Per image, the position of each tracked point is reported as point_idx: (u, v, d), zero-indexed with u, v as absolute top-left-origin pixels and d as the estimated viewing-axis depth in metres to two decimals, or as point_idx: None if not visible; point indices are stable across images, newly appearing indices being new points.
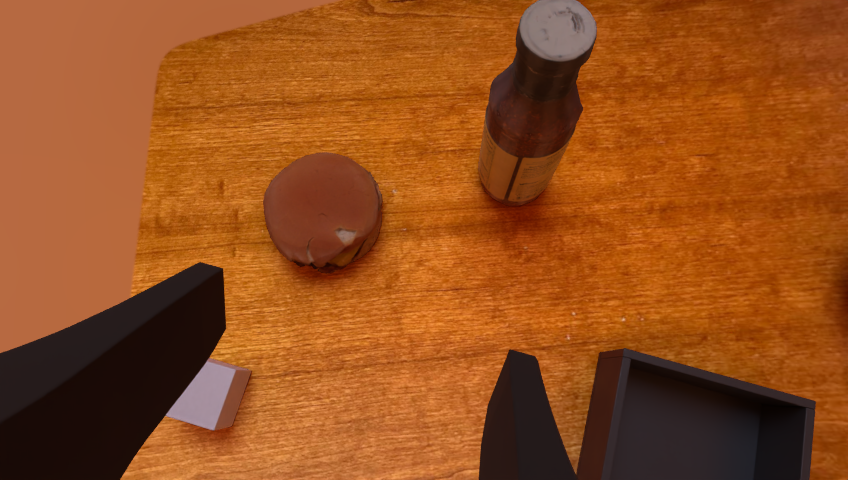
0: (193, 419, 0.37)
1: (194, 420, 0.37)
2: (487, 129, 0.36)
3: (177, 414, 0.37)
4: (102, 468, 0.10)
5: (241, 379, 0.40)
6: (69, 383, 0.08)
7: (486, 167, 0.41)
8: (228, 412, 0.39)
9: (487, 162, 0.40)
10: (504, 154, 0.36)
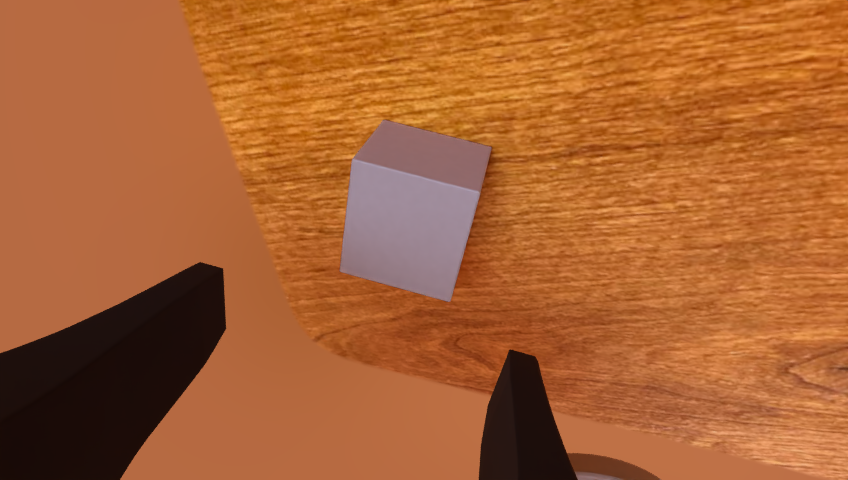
0: (404, 282, 0.18)
1: (406, 284, 0.18)
2: None
3: (369, 273, 0.18)
4: (102, 468, 0.10)
5: None
6: (69, 383, 0.08)
7: None
8: None
9: None
10: None
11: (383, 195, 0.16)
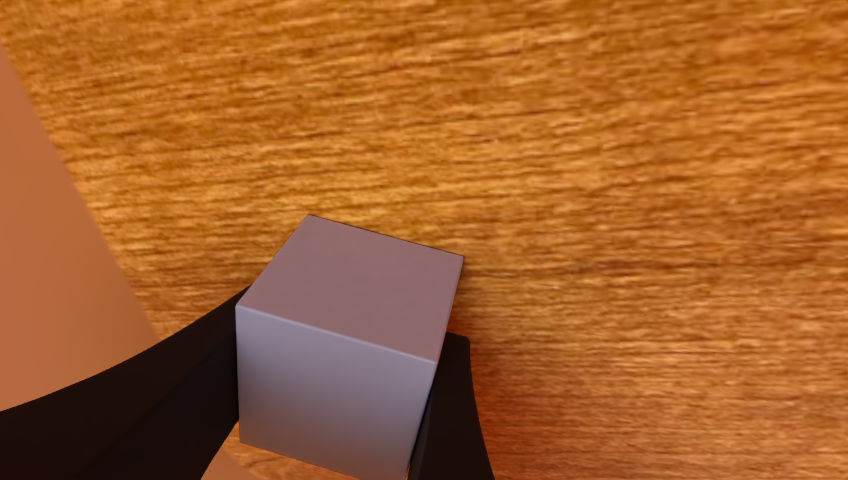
0: (332, 464, 0.12)
1: (336, 465, 0.12)
2: None
3: (281, 448, 0.12)
4: None
5: None
6: (157, 410, 0.08)
7: None
8: None
9: None
10: None
11: (289, 356, 0.10)
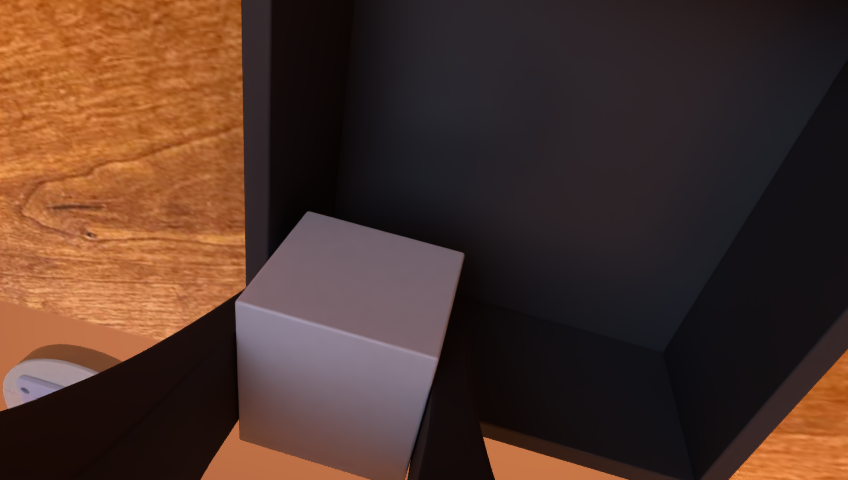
0: (332, 461, 0.12)
1: (336, 463, 0.12)
2: None
3: (281, 445, 0.12)
4: None
5: None
6: (157, 410, 0.08)
7: None
8: None
9: None
10: None
11: (289, 353, 0.10)
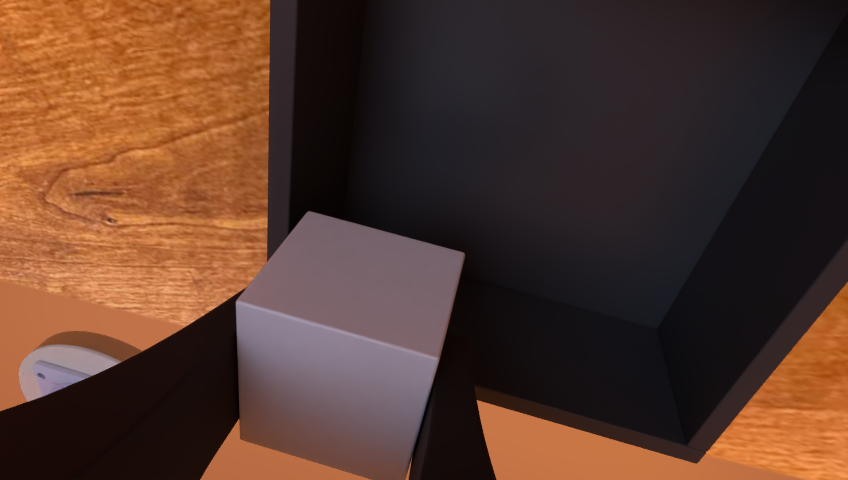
0: (333, 461, 0.12)
1: (337, 462, 0.12)
2: None
3: (282, 445, 0.12)
4: None
5: None
6: (156, 410, 0.08)
7: None
8: None
9: None
10: None
11: (290, 353, 0.10)
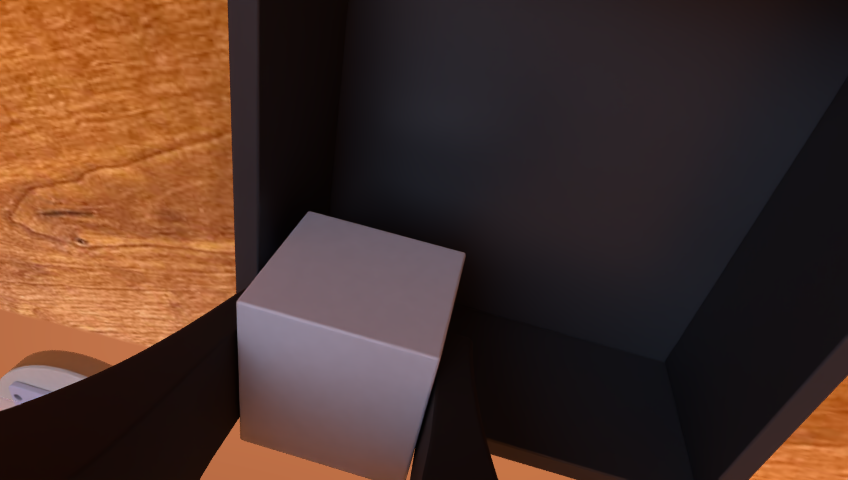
0: (333, 461, 0.12)
1: (337, 463, 0.12)
2: None
3: (282, 445, 0.12)
4: None
5: None
6: (155, 410, 0.08)
7: None
8: None
9: None
10: None
11: (290, 352, 0.10)
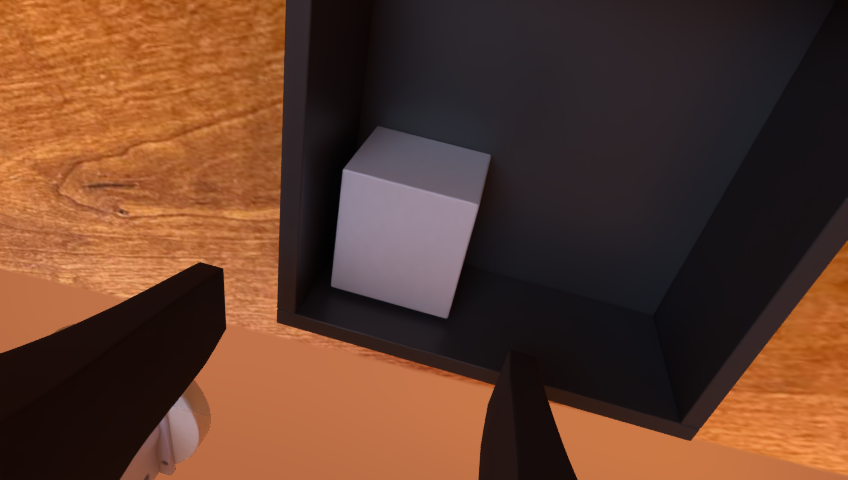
0: (398, 298, 0.17)
1: (401, 300, 0.17)
2: None
3: (362, 288, 0.17)
4: (102, 468, 0.10)
5: None
6: (70, 383, 0.08)
7: None
8: None
9: None
10: None
11: (376, 208, 0.15)
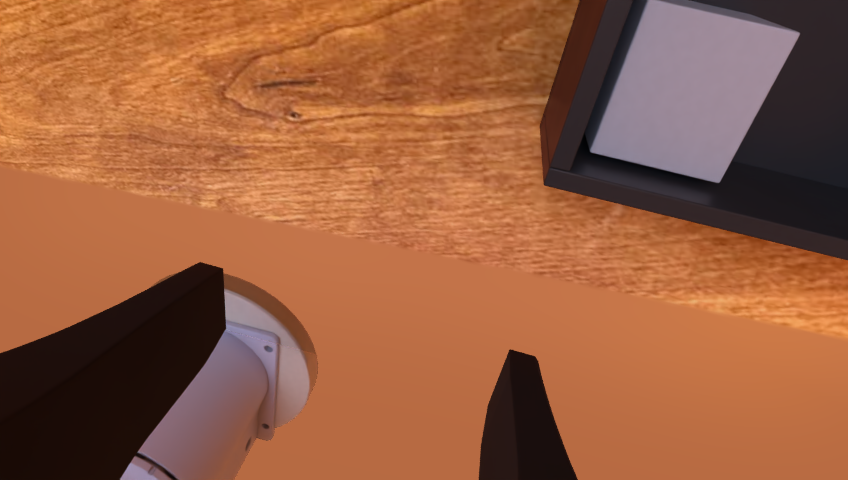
0: (669, 161, 0.16)
1: (671, 163, 0.16)
2: None
3: (628, 151, 0.16)
4: (102, 468, 0.10)
5: None
6: (69, 383, 0.08)
7: None
8: None
9: None
10: None
11: (675, 46, 0.14)
